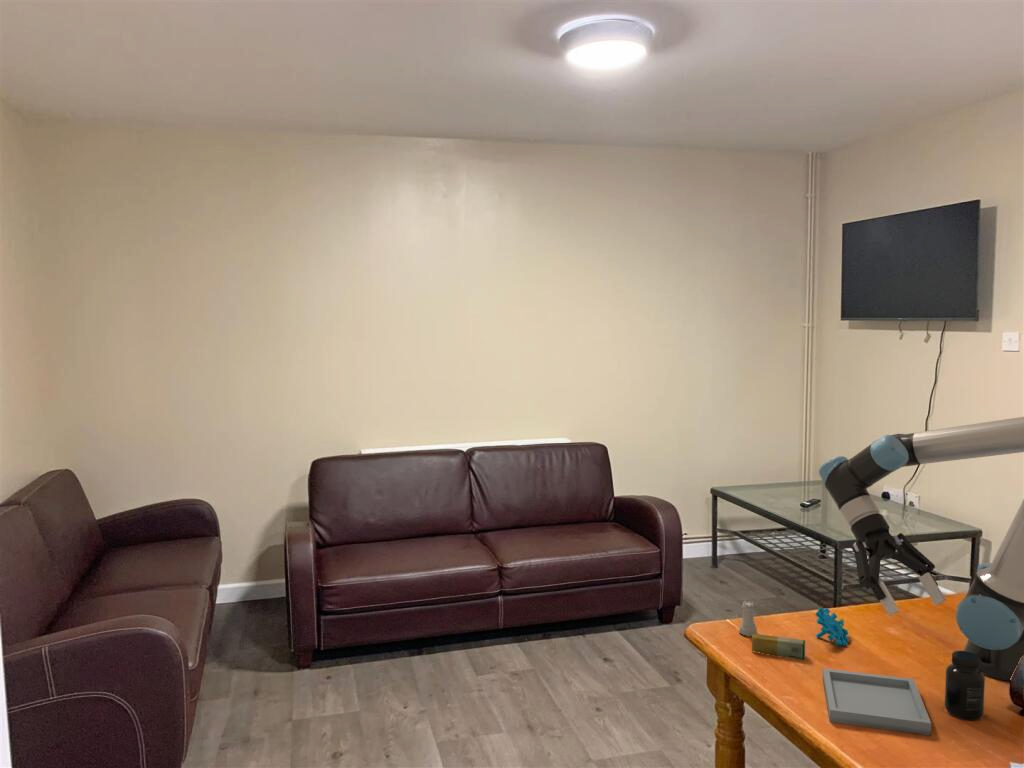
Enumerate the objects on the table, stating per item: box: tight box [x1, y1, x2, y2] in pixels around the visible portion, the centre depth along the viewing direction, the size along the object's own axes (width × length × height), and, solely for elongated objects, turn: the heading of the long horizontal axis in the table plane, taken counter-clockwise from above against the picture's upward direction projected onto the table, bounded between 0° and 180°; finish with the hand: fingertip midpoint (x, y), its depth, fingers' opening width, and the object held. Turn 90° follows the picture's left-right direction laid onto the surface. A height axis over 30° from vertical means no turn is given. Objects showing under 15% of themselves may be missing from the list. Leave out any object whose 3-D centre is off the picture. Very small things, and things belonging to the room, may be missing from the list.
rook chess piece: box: [738, 600, 758, 637], centre depth 196 cm, size 4×4×8 cm
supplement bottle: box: [944, 650, 986, 721], centre depth 158 cm, size 7×7×12 cm
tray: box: [822, 668, 932, 736], centre depth 161 cm, size 18×18×2 cm
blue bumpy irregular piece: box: [815, 607, 851, 647], centre depth 192 cm, size 11×6×10 cm
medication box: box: [751, 633, 806, 661], centre depth 185 cm, size 12×3×4 cm, turn 68°
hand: (918, 608), depth 167 cm, fingers open, 13 cm apart
